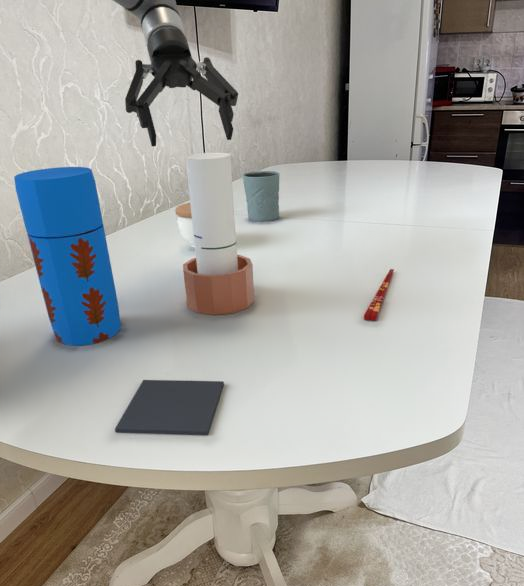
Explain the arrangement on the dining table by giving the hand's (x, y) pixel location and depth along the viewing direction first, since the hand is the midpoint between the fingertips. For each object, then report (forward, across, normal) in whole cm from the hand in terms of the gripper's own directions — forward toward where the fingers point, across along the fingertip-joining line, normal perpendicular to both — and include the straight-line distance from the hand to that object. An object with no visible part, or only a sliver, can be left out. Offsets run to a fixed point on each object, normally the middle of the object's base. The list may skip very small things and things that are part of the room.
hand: (192, 138), depth 92 cm
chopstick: (+33, -28, -5) cm, 43 cm away
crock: (+26, 0, -11) cm, 29 cm away
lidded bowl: (+1, -6, -37) cm, 38 cm away
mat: (+48, +14, +10) cm, 51 cm away
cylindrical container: (+27, 0, -12) cm, 29 cm away
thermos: (+29, +23, -9) cm, 38 cm away
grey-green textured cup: (-12, -27, -50) cm, 58 cm away
